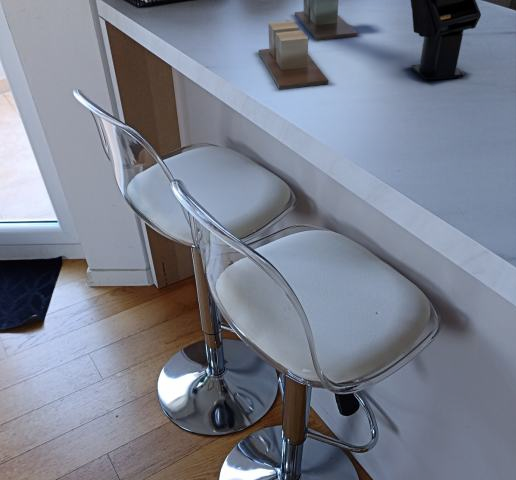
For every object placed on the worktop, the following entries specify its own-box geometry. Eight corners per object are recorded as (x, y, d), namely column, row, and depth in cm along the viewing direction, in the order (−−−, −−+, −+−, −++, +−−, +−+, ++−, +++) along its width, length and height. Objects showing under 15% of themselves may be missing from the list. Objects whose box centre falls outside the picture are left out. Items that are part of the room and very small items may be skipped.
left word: (328, 84, 85) (329, 49, 82) (279, 89, 85) (278, 54, 81) (301, 48, 99) (301, 17, 95) (258, 53, 98) (257, 21, 94)
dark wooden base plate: (357, 36, 103) (359, 5, 99) (316, 40, 102) (317, 9, 98) (330, 11, 116) (331, -17, 112) (294, 15, 115) (294, -13, 112)
